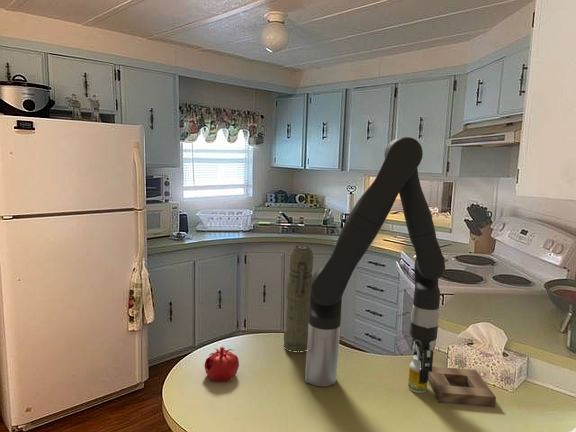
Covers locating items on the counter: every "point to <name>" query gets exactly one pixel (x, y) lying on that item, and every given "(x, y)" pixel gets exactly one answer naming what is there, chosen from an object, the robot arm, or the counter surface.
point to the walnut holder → (460, 387)
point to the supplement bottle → (416, 377)
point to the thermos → (298, 299)
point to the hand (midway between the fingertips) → (419, 374)
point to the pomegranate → (221, 365)
